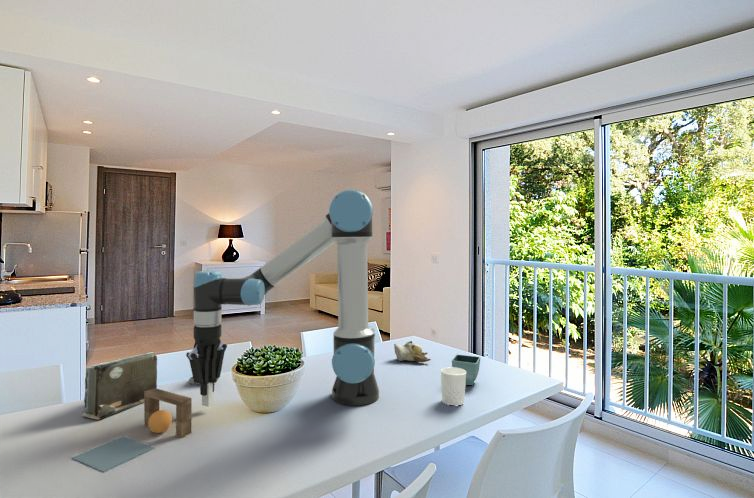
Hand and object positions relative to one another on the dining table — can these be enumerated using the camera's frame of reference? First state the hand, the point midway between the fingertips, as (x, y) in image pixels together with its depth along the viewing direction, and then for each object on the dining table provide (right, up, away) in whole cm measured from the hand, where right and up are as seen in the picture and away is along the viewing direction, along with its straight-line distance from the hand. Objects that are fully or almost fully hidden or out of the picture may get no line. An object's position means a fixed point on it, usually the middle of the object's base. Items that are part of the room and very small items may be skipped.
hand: (207, 404), depth 124 cm
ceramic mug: (-10, -1, +24) cm, 26 cm away
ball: (-7, +1, -13) cm, 15 cm away
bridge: (-6, -2, -12) cm, 13 cm away
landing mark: (-12, -2, -24) cm, 27 cm away
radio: (-27, -2, +4) cm, 27 cm away
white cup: (+73, -3, +10) cm, 74 cm away
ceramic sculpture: (+64, -2, +54) cm, 84 cm away
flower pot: (+81, -3, +28) cm, 86 cm away
